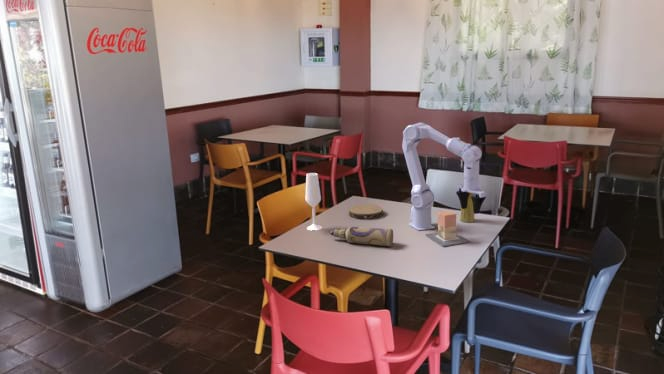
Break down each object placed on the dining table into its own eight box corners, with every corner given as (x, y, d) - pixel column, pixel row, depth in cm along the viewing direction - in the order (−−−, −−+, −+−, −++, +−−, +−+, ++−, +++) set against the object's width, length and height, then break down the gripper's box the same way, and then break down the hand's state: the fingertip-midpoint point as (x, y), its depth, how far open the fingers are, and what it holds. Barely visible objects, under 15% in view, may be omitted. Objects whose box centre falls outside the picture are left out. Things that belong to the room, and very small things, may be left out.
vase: (464, 223, 219) (465, 191, 216) (457, 219, 225) (458, 188, 222) (477, 221, 221) (478, 189, 217) (469, 217, 227) (470, 186, 223)
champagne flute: (323, 225, 223) (320, 172, 218) (321, 230, 217) (318, 175, 211) (307, 225, 224) (305, 172, 218) (305, 230, 218) (302, 176, 212)
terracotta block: (438, 224, 202) (438, 212, 200) (449, 222, 203) (449, 210, 202) (444, 227, 197) (444, 215, 196) (455, 226, 198) (456, 214, 197)
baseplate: (425, 235, 206) (425, 233, 206) (451, 231, 210) (451, 229, 210) (443, 247, 193) (443, 245, 193) (470, 242, 197) (470, 240, 197)
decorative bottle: (394, 242, 200) (394, 226, 198) (389, 249, 193) (389, 233, 192) (334, 236, 210) (333, 220, 208) (327, 242, 203) (326, 226, 201)
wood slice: (389, 212, 239) (388, 206, 239) (373, 222, 226) (373, 215, 226) (359, 208, 248) (359, 202, 247) (342, 217, 235) (342, 211, 234)
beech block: (438, 236, 203) (438, 224, 202) (449, 234, 204) (449, 222, 203) (444, 240, 198) (444, 227, 197) (455, 238, 200) (456, 226, 198)
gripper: (451, 175, 203) (450, 207, 207) (474, 182, 191) (473, 217, 194) (465, 173, 206) (464, 205, 209) (490, 180, 193) (488, 214, 197)
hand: (470, 210), depth 202 cm, fingers open, 7 cm apart
